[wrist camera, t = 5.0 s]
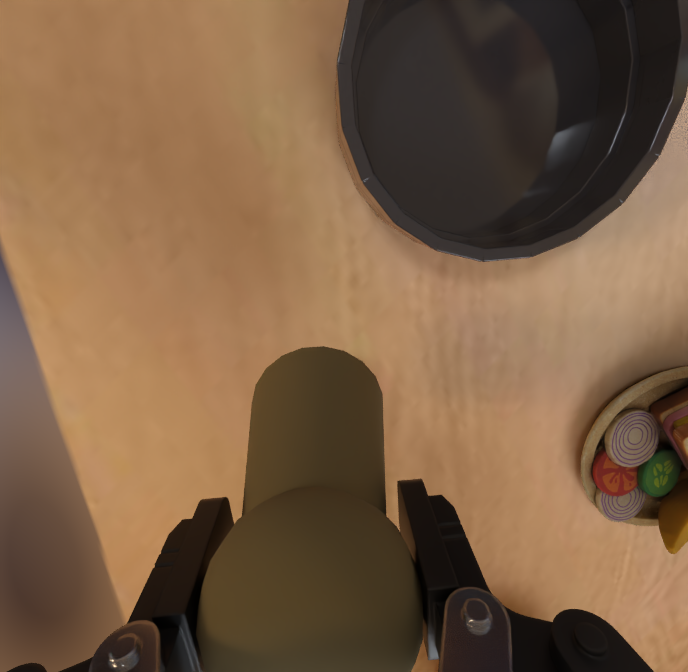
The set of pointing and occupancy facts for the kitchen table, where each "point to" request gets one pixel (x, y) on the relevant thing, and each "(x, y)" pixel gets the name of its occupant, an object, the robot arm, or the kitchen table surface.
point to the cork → (313, 534)
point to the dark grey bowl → (506, 114)
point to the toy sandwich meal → (643, 457)
